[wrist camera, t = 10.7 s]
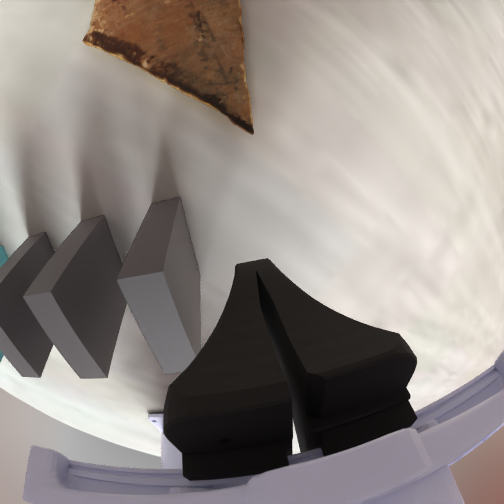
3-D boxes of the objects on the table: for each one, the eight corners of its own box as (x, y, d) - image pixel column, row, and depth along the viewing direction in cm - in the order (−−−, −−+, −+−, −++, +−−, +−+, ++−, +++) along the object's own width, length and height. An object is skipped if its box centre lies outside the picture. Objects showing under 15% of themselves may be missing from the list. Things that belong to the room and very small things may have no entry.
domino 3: (180, 196, 14) (162, 271, 8) (200, 275, 17) (201, 369, 11) (151, 203, 14) (116, 279, 8) (174, 279, 17) (165, 374, 11)
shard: (249, 131, 14) (255, 135, 12) (107, 158, 13) (95, 165, 12) (230, -44, 8) (233, -59, 7) (91, -14, 8) (79, -24, 6)
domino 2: (104, 214, 14) (50, 291, 8) (131, 287, 17) (107, 378, 11) (81, 221, 14) (22, 296, 8) (110, 291, 17) (80, 378, 11)
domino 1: (45, 231, 14) (-15, 302, 8) (75, 296, 16) (40, 377, 10) (28, 237, 14) (-30, 305, 8) (58, 299, 16) (22, 376, 10)
